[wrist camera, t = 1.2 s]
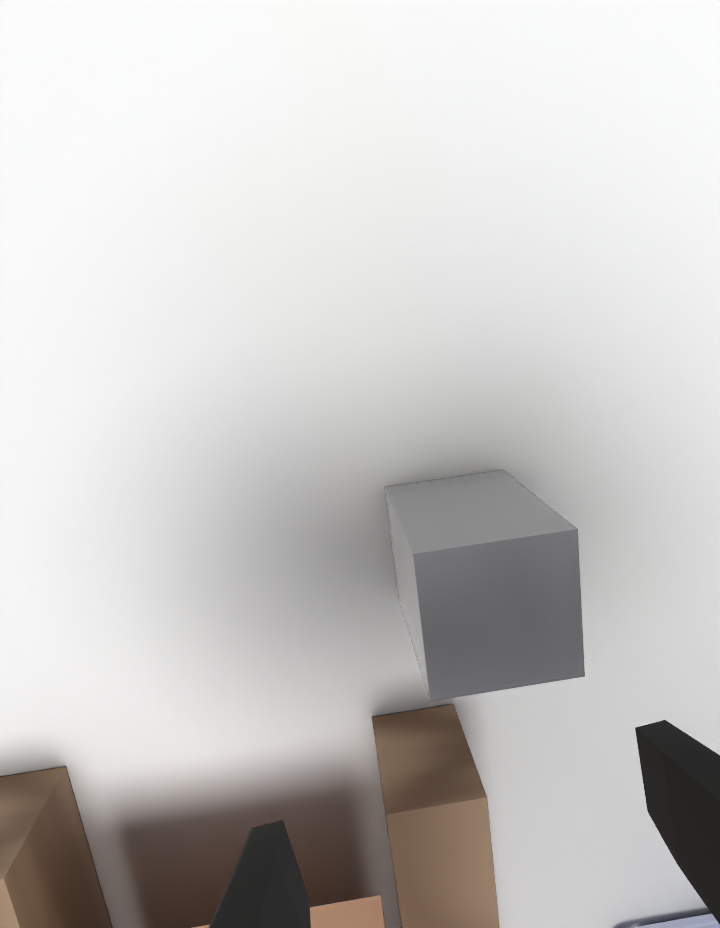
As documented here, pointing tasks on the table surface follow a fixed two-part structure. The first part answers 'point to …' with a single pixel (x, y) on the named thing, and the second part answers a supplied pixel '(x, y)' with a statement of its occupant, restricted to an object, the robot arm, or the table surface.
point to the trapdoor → (347, 914)
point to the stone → (486, 584)
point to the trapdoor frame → (407, 812)
